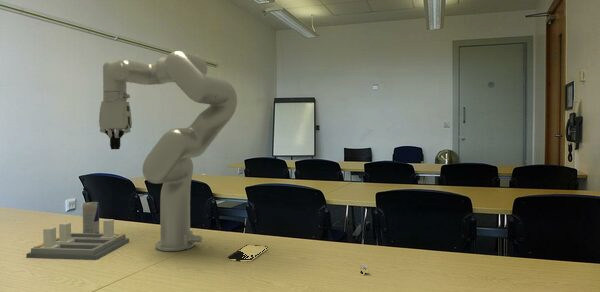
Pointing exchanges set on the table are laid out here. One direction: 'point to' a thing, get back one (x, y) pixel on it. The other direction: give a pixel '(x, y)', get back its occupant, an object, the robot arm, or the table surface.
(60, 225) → the middle tab
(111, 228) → the right tab
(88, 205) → the energy drink
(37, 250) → the switch bank
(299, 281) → the table surface
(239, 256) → the phone
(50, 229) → the left tab
